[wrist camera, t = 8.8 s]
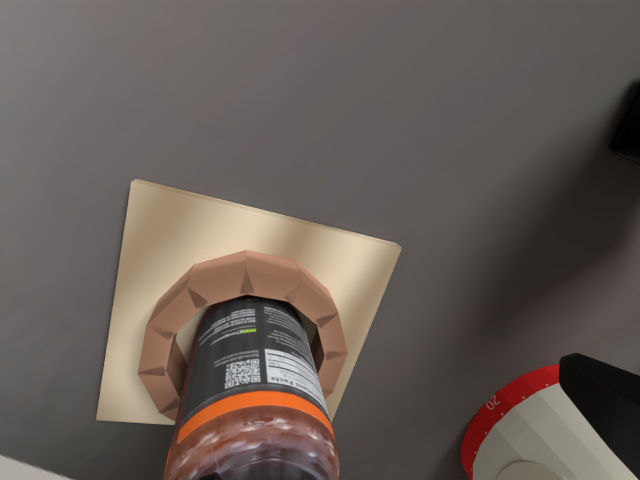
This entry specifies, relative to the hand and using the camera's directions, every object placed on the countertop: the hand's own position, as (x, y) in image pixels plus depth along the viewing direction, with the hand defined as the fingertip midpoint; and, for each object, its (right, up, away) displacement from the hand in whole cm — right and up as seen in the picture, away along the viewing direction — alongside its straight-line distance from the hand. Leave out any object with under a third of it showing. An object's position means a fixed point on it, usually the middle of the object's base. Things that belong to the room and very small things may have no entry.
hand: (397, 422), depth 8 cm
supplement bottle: (-6, -1, +11) cm, 12 cm away
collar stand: (-6, -1, +11) cm, 13 cm away
